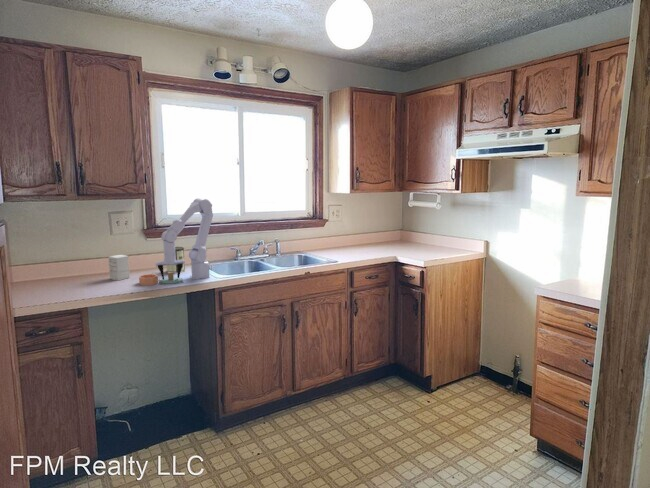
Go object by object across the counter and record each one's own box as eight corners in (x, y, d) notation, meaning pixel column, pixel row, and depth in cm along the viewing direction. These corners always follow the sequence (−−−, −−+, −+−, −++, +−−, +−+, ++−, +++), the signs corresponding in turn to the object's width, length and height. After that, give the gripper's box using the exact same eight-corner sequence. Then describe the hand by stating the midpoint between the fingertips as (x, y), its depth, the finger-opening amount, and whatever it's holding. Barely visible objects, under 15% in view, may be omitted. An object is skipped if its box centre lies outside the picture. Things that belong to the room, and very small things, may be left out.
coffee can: (171, 269, 258) (170, 246, 256) (187, 269, 257) (186, 246, 255) (163, 273, 248) (162, 249, 246) (180, 273, 247) (179, 249, 245)
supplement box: (121, 276, 239) (120, 254, 237) (130, 278, 235) (128, 255, 233) (109, 279, 233) (107, 256, 231) (117, 280, 229) (116, 257, 227)
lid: (180, 278, 234) (180, 269, 234) (183, 282, 225) (182, 273, 224) (159, 280, 230) (158, 271, 229) (160, 284, 220) (160, 275, 219)
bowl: (157, 280, 229) (157, 273, 229) (158, 284, 221) (158, 277, 221) (139, 282, 226) (138, 275, 225) (139, 286, 218) (139, 278, 217)
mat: (181, 278, 235) (181, 277, 235) (184, 283, 224) (184, 282, 224) (158, 280, 230) (158, 279, 230) (159, 285, 219) (159, 285, 219)
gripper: (155, 255, 218) (156, 281, 220) (184, 253, 224) (185, 278, 226) (154, 253, 224) (155, 278, 227) (183, 251, 231) (184, 275, 233)
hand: (170, 278), depth 227 cm, fingers open, 7 cm apart
